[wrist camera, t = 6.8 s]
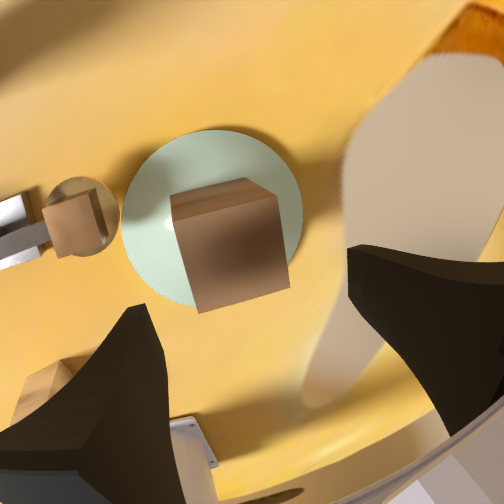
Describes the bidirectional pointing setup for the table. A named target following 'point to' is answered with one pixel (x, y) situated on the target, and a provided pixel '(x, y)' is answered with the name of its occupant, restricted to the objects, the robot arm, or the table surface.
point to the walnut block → (230, 242)
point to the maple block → (41, 389)
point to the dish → (192, 177)
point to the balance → (59, 222)
